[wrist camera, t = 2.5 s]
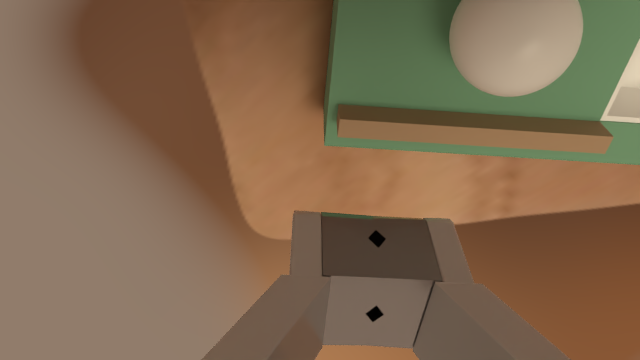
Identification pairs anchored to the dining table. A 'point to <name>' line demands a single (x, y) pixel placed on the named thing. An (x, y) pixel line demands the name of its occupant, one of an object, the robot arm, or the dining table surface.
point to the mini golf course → (471, 103)
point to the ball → (514, 43)
